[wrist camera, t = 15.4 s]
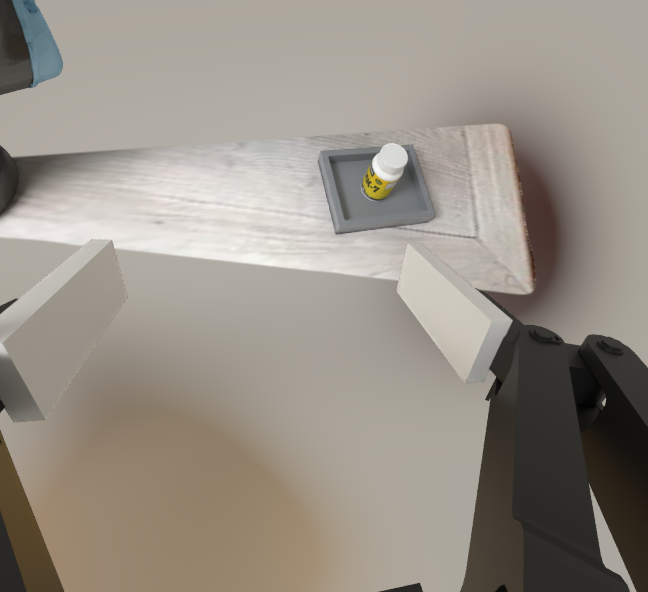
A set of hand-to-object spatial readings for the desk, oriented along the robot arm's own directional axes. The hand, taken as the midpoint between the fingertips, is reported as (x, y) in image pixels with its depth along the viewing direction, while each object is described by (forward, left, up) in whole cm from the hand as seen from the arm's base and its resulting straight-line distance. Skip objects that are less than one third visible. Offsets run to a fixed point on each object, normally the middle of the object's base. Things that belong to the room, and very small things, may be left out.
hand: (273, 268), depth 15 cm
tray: (-10, +28, -30) cm, 42 cm away
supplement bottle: (-10, +27, -29) cm, 41 cm away
